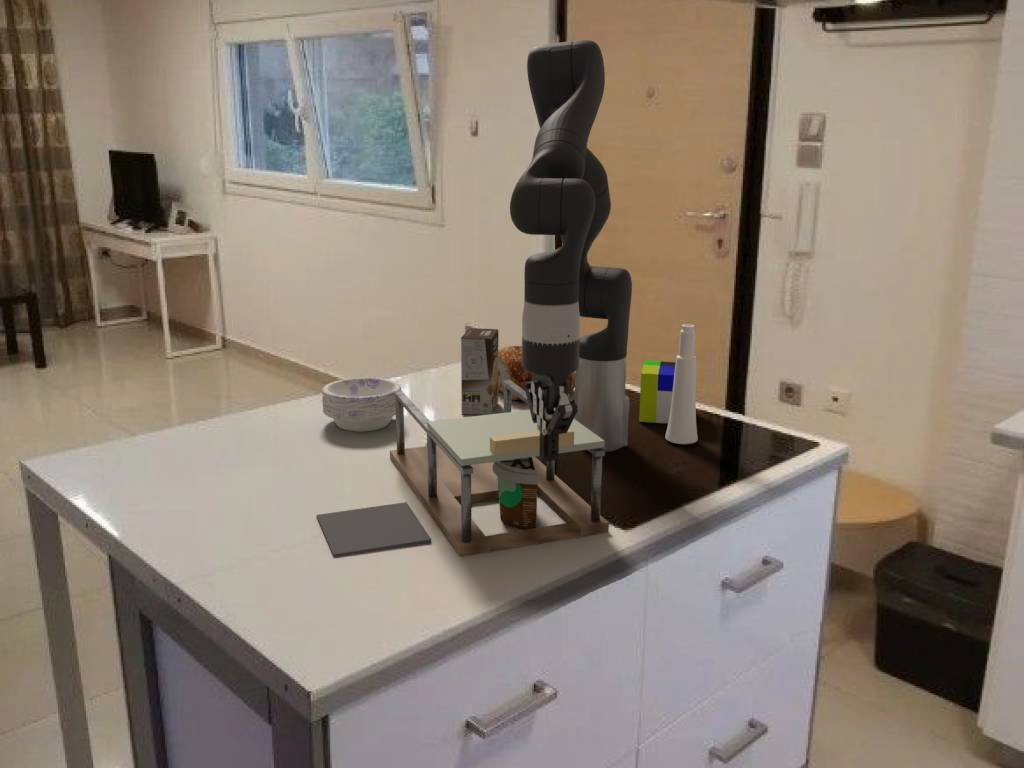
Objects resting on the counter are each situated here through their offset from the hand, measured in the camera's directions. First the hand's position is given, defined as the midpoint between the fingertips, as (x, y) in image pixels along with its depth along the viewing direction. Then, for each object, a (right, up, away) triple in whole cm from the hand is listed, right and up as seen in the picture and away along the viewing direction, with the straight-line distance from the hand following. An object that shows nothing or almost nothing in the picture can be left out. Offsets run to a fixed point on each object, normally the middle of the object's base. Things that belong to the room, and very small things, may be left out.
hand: (548, 458), depth 128 cm
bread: (0, +9, +81) cm, 82 cm away
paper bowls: (-34, +2, +57) cm, 67 cm away
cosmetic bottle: (+27, -1, +50) cm, 57 cm away
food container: (-5, -11, +16) cm, 19 cm away
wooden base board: (-9, -7, +25) cm, 28 cm away
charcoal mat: (-26, -12, +11) cm, 30 cm away
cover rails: (-9, -6, +25) cm, 27 cm away
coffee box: (-12, +5, +68) cm, 69 cm away
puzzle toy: (+26, +3, +64) cm, 69 cm away
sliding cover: (-5, +2, +12) cm, 13 cm away
